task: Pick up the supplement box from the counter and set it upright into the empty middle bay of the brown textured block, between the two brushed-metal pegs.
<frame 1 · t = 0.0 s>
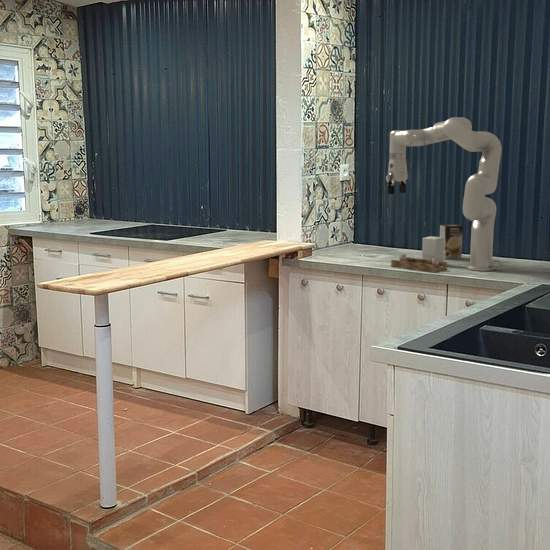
hand: (396, 193, 374), 31 cm above the countertop, tool pointing down, fingers open, 9 cm apart
supplement box: (432, 265, 361), on the countertop
coffee box: (450, 258, 378), on the countertop
brown textured block: (418, 268, 352), on the countertop
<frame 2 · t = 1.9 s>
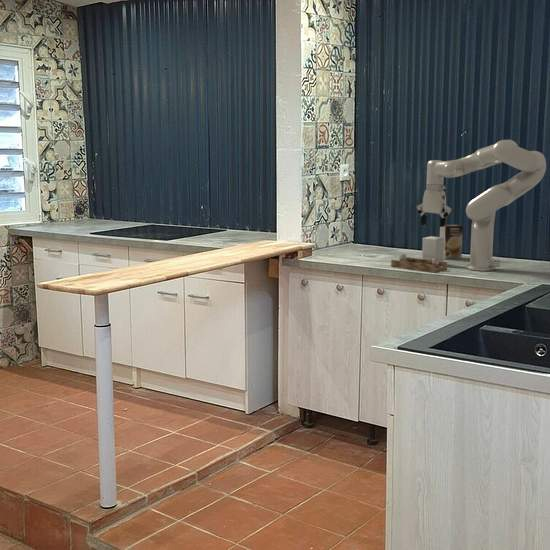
hand: (432, 225, 358), 18 cm above the countertop, tool pointing down, fingers open, 9 cm apart
nothing on the countertop moved.
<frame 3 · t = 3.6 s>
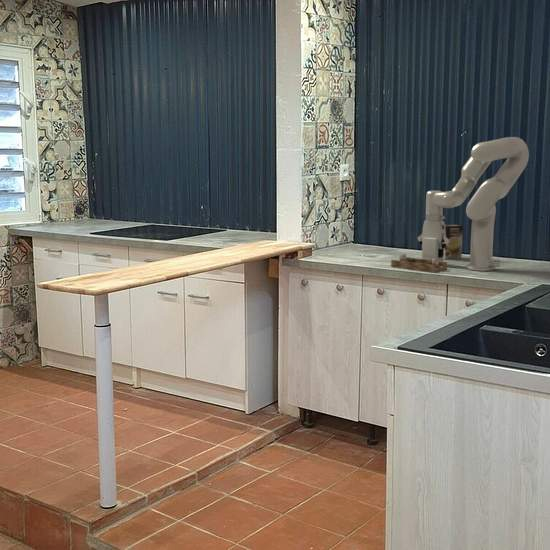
hand: (432, 256, 360), 4 cm above the countertop, tool pointing down, fingers closed on supplement box, 7 cm apart
supplement box: (432, 265, 361), on the countertop, touching gripper
everything else where it was.
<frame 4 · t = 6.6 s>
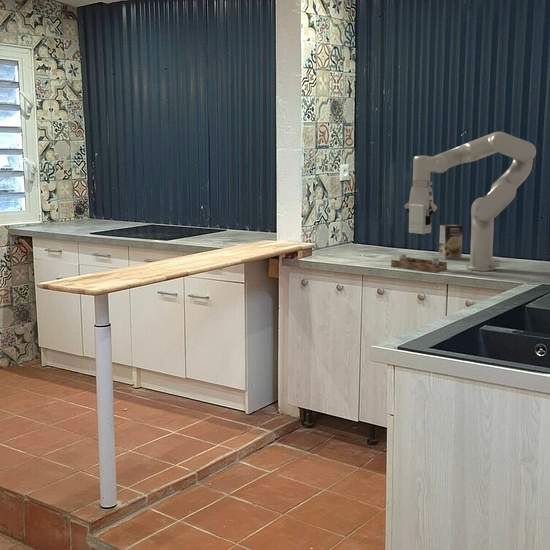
hand: (420, 223, 349), 20 cm above the countertop, tool pointing down, fingers closed on supplement box, 7 cm apart
supplement box: (419, 233, 350), point 16 cm above the countertop, touching gripper
everything else where it was.
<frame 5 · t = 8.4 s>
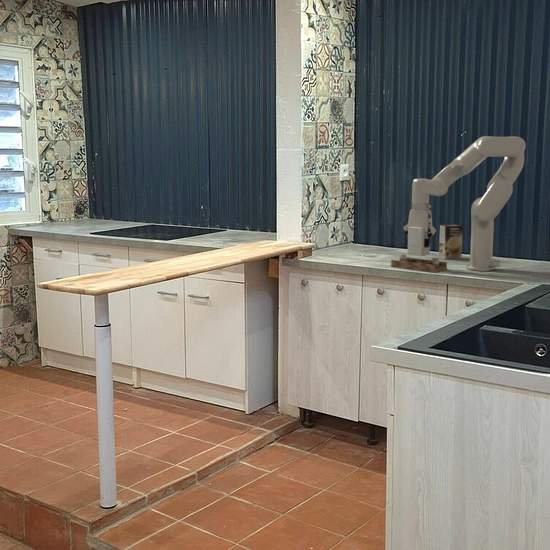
hand: (418, 246, 351), 10 cm above the countertop, tool pointing down, fingers closed on supplement box, 7 cm apart
supplement box: (418, 255, 351), point 6 cm above the countertop, touching gripper
everything else where it was.
when the fingers open (6 cm above the countertop, at t = 9.7 s): supplement box drops 1 cm, resting on brown textured block.
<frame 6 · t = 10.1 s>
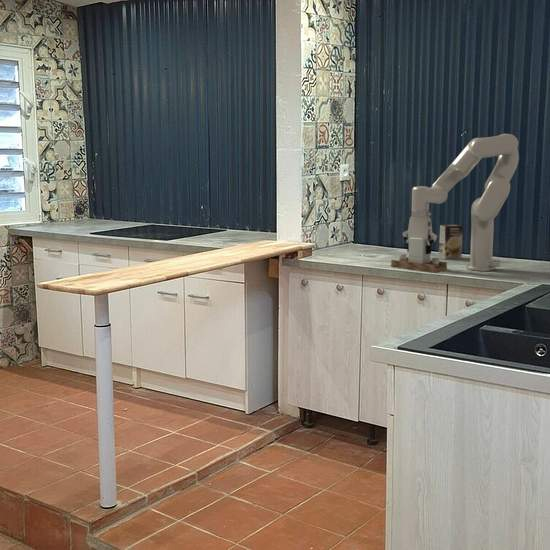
hand: (419, 252, 351), 7 cm above the countertop, tool pointing down, fingers open, 9 cm apart
supplement box: (419, 265, 352), point 1 cm above the countertop, touching brown textured block
everything else where it was.
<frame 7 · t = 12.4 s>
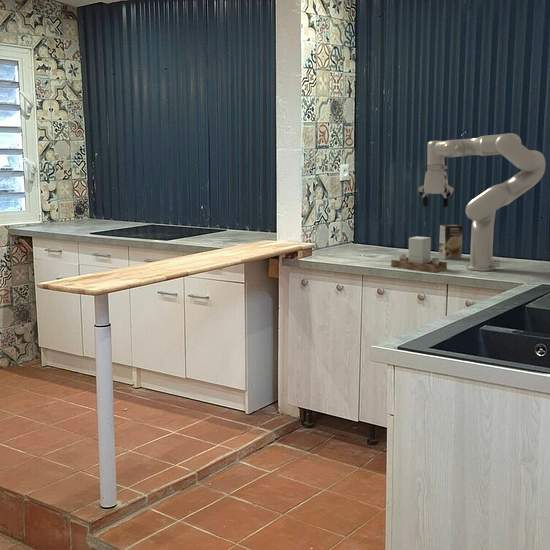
hand: (435, 206, 356), 27 cm above the countertop, tool pointing down, fingers open, 9 cm apart
nothing on the countertop moved.
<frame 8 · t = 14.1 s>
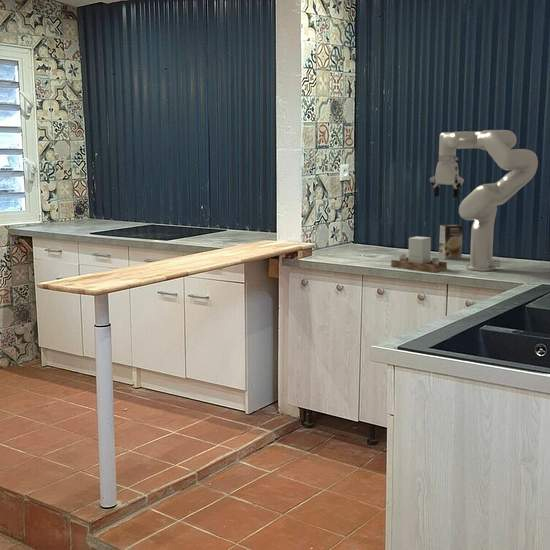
hand: (446, 197, 363), 30 cm above the countertop, tool pointing down, fingers open, 9 cm apart
nothing on the countertop moved.
at the end: supplement box 0.2 cm off-centre on the brown textured block, point 1.0 cm above the brown textured block's base; supplement box tilted 0°; the gripper is holding nothing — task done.
